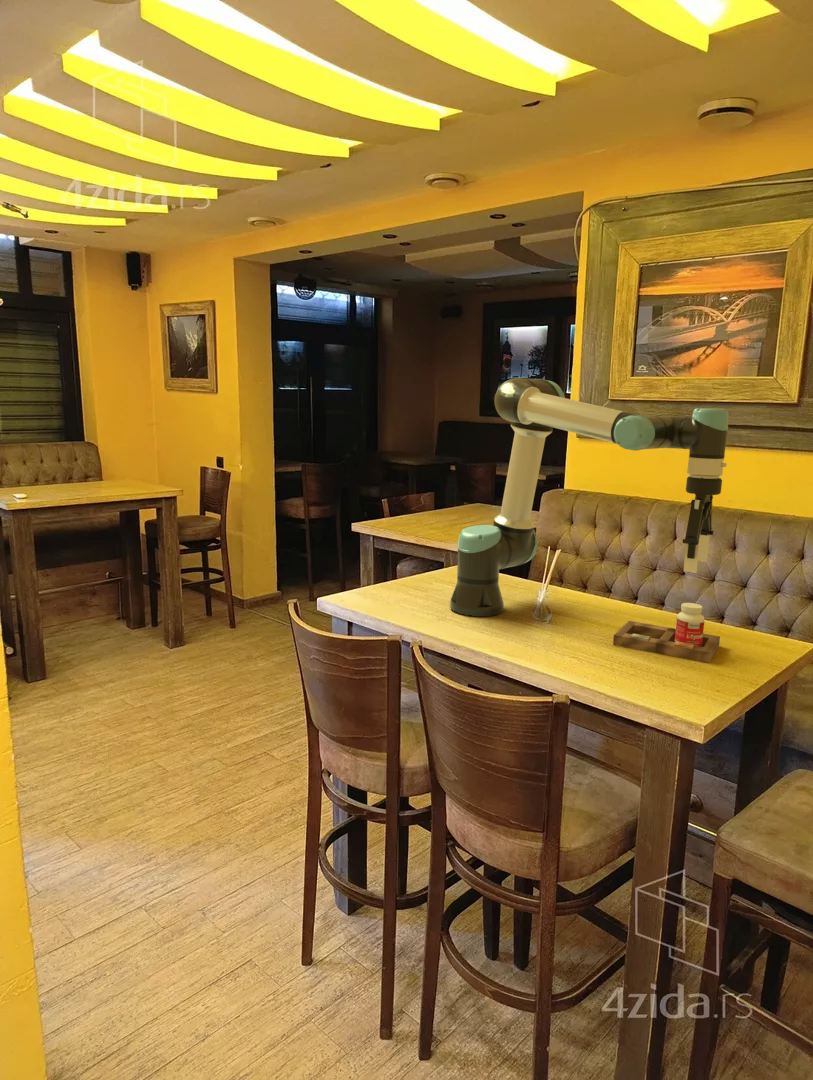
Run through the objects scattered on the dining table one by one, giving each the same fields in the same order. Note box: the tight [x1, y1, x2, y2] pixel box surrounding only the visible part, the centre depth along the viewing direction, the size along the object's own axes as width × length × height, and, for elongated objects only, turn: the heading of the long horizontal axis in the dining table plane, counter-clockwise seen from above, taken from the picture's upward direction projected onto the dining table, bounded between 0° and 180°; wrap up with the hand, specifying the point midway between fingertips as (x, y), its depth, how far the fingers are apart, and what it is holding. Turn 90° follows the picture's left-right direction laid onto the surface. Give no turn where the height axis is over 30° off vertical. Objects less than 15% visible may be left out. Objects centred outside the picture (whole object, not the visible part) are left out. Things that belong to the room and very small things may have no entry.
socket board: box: [612, 620, 721, 664], centre depth 171 cm, size 22×14×3 cm, turn 58°
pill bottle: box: [675, 602, 706, 647], centre depth 168 cm, size 6×6×11 cm
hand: (695, 566), depth 165 cm, fingers open, 13 cm apart
